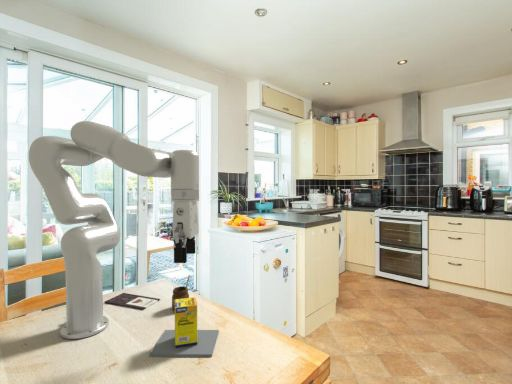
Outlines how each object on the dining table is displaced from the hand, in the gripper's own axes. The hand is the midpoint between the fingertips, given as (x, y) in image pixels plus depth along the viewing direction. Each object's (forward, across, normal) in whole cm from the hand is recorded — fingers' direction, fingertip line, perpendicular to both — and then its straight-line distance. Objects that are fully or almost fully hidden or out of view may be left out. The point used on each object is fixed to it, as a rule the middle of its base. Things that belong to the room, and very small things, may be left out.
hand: (185, 257), depth 77 cm
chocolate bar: (+25, +28, +28) cm, 46 cm away
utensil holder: (+24, +22, +8) cm, 33 cm away
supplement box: (+23, 0, 0) cm, 23 cm away
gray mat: (+24, 0, 0) cm, 24 cm away
